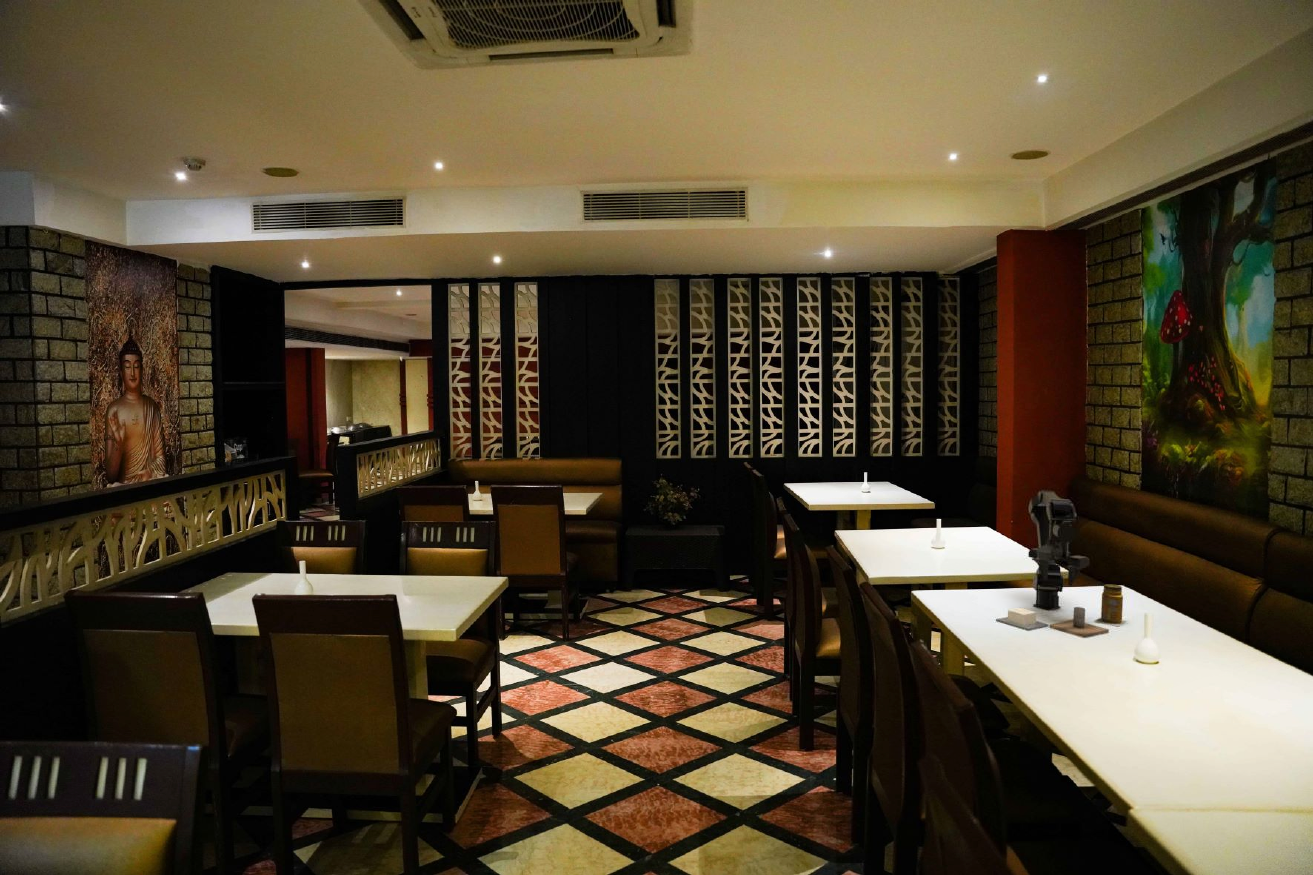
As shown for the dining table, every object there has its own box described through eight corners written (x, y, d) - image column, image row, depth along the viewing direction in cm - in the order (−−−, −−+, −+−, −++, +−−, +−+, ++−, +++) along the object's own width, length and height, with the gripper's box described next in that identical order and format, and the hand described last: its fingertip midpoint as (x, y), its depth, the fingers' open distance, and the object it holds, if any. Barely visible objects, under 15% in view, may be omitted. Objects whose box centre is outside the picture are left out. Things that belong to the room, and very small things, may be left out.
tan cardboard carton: (1019, 618, 261) (1020, 607, 261) (1036, 622, 256) (1036, 612, 256) (1007, 620, 258) (1008, 610, 258) (1023, 625, 253) (1024, 614, 253)
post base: (1049, 627, 253) (1050, 606, 253) (1072, 622, 259) (1073, 601, 258) (1084, 637, 242) (1085, 615, 242) (1108, 632, 248) (1109, 610, 248)
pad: (996, 620, 260) (996, 619, 260) (1016, 616, 265) (1016, 615, 265) (1028, 630, 250) (1028, 628, 250) (1048, 626, 254) (1048, 624, 254)
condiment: (1126, 621, 260) (1127, 585, 259) (1118, 626, 254) (1119, 590, 254) (1102, 617, 265) (1103, 581, 265) (1093, 622, 260) (1094, 586, 259)
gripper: (1018, 534, 267) (1016, 579, 268) (1069, 543, 250) (1067, 591, 251) (1039, 531, 272) (1038, 575, 273) (1091, 540, 255) (1089, 587, 256)
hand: (1057, 582), depth 263 cm, fingers open, 9 cm apart
